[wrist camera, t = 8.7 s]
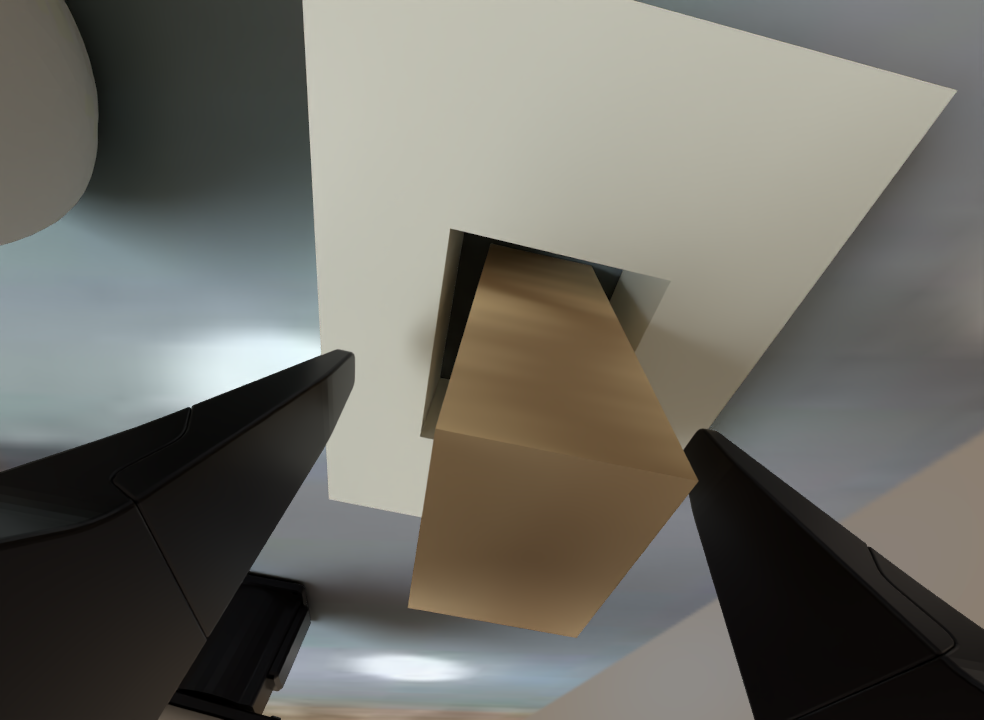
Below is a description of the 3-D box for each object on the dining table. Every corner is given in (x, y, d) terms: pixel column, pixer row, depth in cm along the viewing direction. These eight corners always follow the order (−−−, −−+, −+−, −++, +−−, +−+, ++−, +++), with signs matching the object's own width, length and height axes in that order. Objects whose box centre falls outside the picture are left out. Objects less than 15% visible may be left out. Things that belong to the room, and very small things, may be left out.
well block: (361, 437, 18) (329, 499, 15) (372, -20, 9) (297, -93, 6) (600, 486, 18) (614, 555, 15) (823, 102, 10) (957, 90, 7)
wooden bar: (467, 364, 15) (407, 607, 7) (490, 243, 12) (435, 428, 5) (550, 381, 15) (576, 637, 7) (591, 265, 12) (698, 480, 5)
